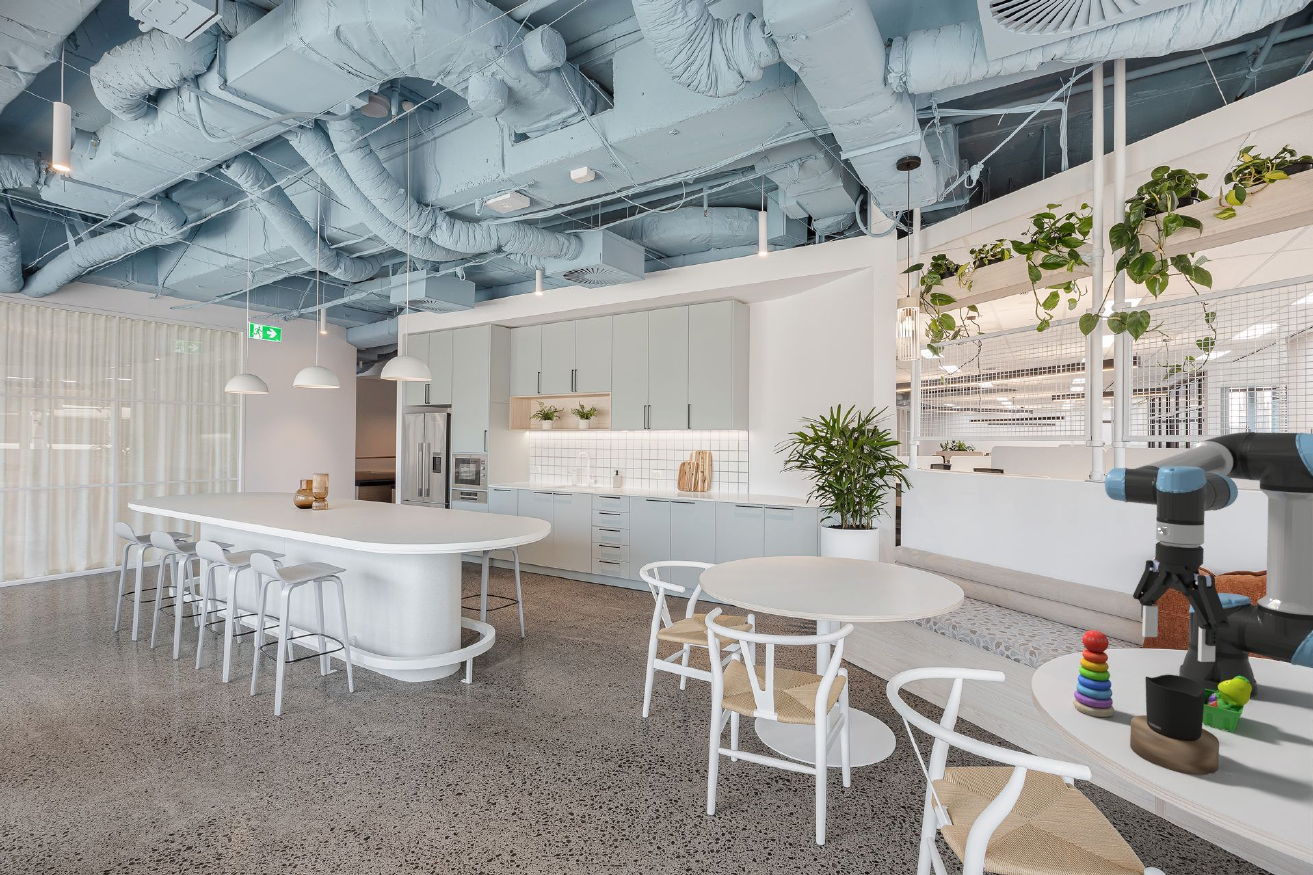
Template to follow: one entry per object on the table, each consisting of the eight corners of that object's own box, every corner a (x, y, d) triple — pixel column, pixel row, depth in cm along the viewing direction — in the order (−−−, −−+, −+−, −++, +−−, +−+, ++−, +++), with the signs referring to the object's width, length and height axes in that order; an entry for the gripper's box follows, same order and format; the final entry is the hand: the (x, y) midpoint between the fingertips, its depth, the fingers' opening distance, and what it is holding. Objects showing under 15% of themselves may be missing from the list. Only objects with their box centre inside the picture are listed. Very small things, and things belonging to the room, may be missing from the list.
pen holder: (1141, 716, 139) (1142, 669, 138) (1198, 726, 134) (1199, 678, 133) (1147, 735, 130) (1149, 685, 130) (1208, 747, 126) (1209, 696, 125)
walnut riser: (1177, 737, 140) (1177, 714, 139) (1238, 773, 126) (1239, 748, 125) (1113, 738, 139) (1114, 715, 139) (1167, 775, 125) (1168, 749, 125)
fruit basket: (1201, 708, 153) (1203, 661, 153) (1252, 721, 147) (1254, 671, 147) (1194, 724, 145) (1196, 674, 145) (1248, 739, 139) (1250, 686, 139)
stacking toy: (1120, 720, 148) (1123, 638, 147) (1081, 716, 149) (1083, 635, 148) (1104, 704, 155) (1106, 626, 155) (1067, 701, 157) (1069, 624, 156)
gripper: (1114, 532, 143) (1112, 627, 144) (1217, 557, 118) (1213, 673, 119) (1148, 531, 143) (1145, 627, 144) (1257, 557, 118) (1253, 672, 119)
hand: (1176, 648), depth 132 cm, fingers open, 13 cm apart
